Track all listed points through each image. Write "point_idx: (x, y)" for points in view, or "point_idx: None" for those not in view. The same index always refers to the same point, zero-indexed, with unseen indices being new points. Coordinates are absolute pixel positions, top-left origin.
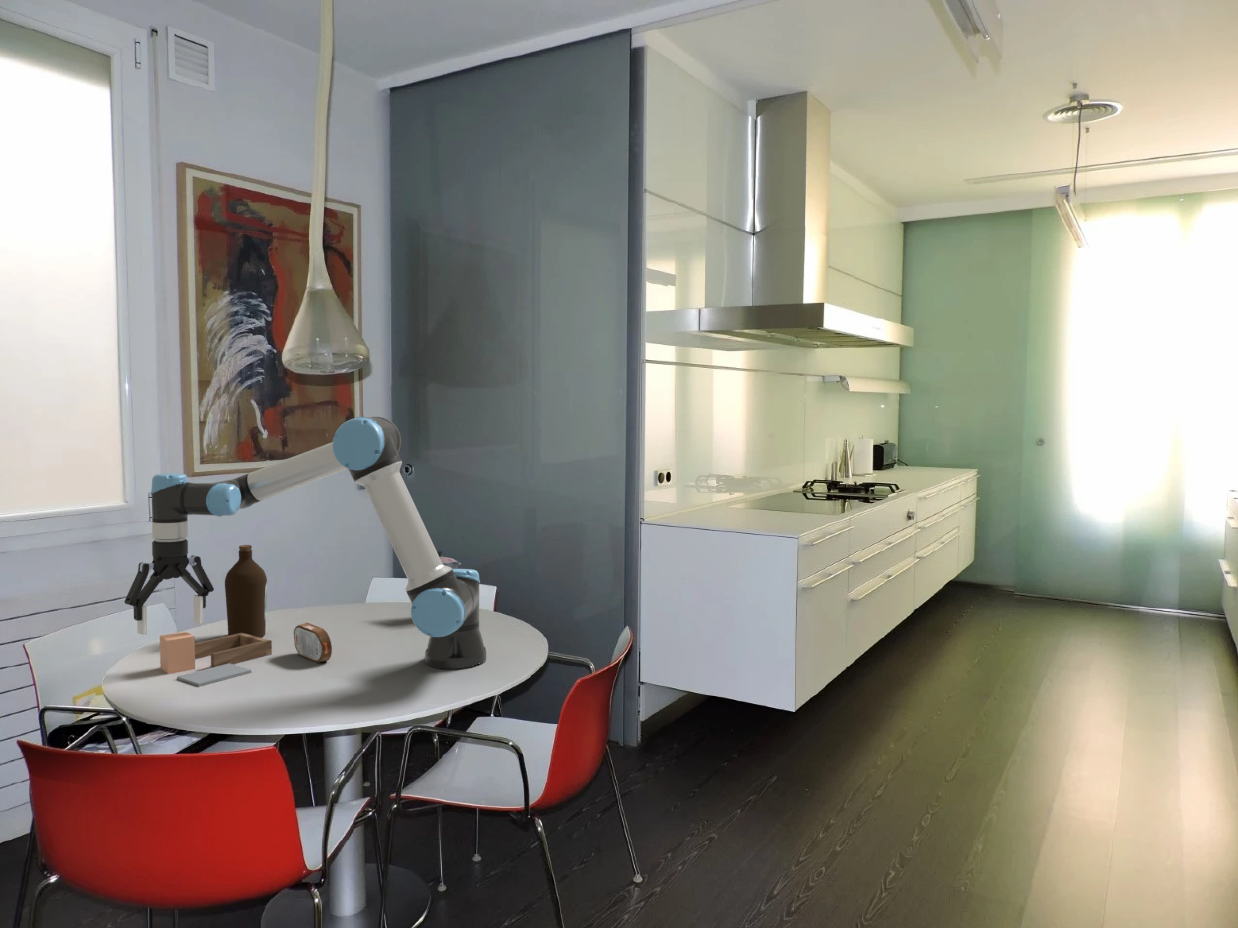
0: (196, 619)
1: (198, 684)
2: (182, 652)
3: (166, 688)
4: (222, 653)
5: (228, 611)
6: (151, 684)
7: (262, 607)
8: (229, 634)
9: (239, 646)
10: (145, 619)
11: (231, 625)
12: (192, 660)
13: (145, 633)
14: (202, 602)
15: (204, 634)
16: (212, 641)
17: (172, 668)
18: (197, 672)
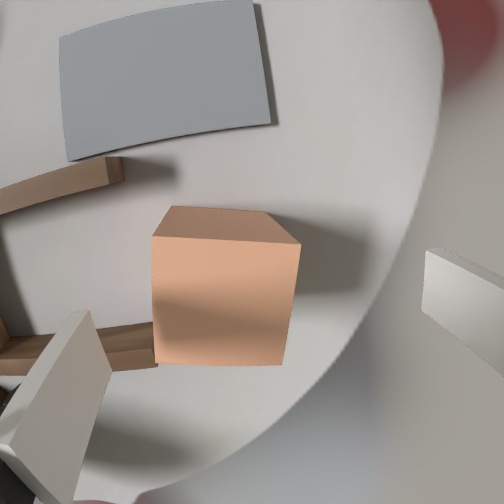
0: (97, 358)
1: (252, 2)
2: (217, 222)
3: (331, 58)
4: (72, 165)
5: None
6: (348, 132)
7: None
8: None
9: (8, 340)
10: (491, 277)
11: None
12: (177, 211)
13: (435, 249)
14: (12, 400)
15: (82, 476)
16: None
17: (252, 213)
18: (196, 120)
